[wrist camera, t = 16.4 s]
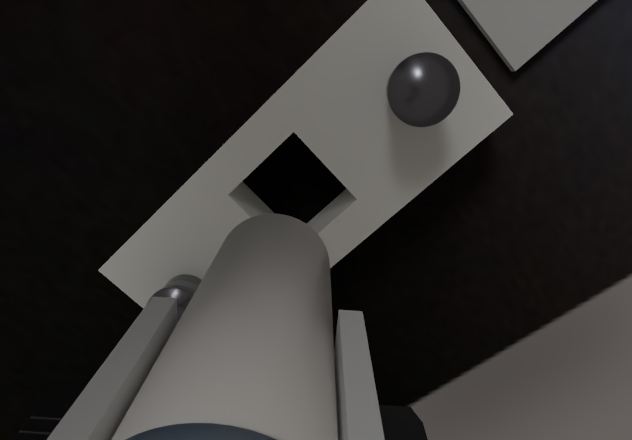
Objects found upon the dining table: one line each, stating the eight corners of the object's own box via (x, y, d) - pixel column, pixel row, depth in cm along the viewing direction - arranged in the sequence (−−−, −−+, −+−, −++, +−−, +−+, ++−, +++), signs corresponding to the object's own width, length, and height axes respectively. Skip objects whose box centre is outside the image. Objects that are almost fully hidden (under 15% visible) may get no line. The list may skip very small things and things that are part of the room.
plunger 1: (148, 294, 33) (132, 314, 30) (185, 259, 32) (172, 277, 29) (189, 329, 34) (178, 352, 31) (226, 297, 33) (218, 317, 30)
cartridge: (216, 312, 20) (-145, 1148, 5) (216, 206, 19) (-348, 944, 3) (327, 320, 21) (349, 1168, 5) (337, 215, 19) (426, 982, 3)
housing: (125, 246, 38) (98, 270, 34) (388, -17, 32) (399, -33, 27) (225, 333, 41) (212, 367, 36) (486, 108, 34) (513, 114, 30)
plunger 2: (368, 87, 28) (373, 88, 26) (418, 39, 27) (429, 35, 25) (409, 135, 29) (418, 141, 26) (459, 90, 28) (475, 92, 25)
